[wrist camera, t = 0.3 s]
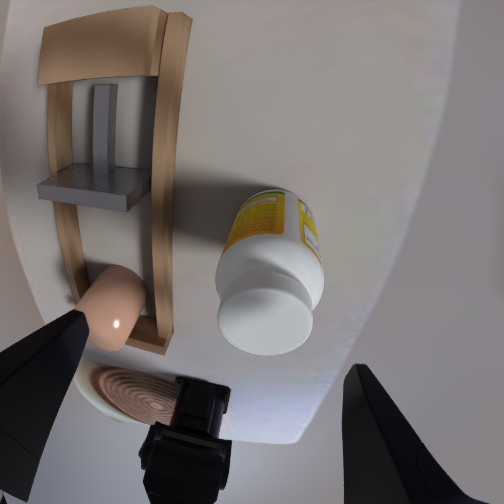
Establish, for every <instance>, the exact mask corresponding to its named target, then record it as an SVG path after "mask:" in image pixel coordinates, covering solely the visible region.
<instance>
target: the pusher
mask: <svg viewBox="0 0 504 504" xmlns="http://www.w3.org/2000/svg"><path fill="white" fill-rule="evenodd" d="M117 91H118V84H109V85H97V86H95V91H94V109H93V165H84V164H73V165H72V166H70V167H68V168H66V169H64V170H62V171H60V172H58V173H57V174H55V175H53V176H51V177H49V178H48V179H46V180H44V181H42V182H41V183H39V184H37V189H38V196H39V199H45V200H51V201H58V202H65V203H71V204H78V205H84V206H91V207H97V208H104V209H110V210H116V211H122V212H127V211H129V210H130V209H131V208H132V207H133V206H134V205H135V204H136V203H137V202H138V201H139V200H141V199H142V198H143V197H144V196H145V195H146V194H147V193H148V192H149V191H151V190H152V171H148V170H139V169H129V168H119V167H115V126H116V106H117Z"/></svg>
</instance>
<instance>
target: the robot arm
mask: <svg viewBox="0 0 504 504" xmlns="http://www.w3.org/2000/svg"><path fill="white" fill-rule="evenodd" d="M88 336H89V326H88V322H87V319H86V316H85V314H84V312H82V311H79V310H75V309H74V310H71V311H69V312H68V313H66V314H64V315H62V316H61V317H59V318H57V319H55V320H54V321H52V322H50V323H49V324H47V325H45V326H43V327H42V328H40V329H38V330H37V331H35V332H33V333H31V334H30V335H28V336H26V337H25V338H23V339H21V340H20V341H18V342H16V343H15V344H13V345H11V346H10V347H8V348H7V349H5V350H3V351H2V352H0V504H7V503H6V500H5V497H4V495H3V494H4V492H6V493H8V494H10V495H12V496H14V497H16V498H18V499H20V500H22V501H25V502H27V501H28V499H29V495H30V491H31V487H32V484H33V481H34V478H35V474H36V471H37V468H38V465H39V462H40V458H41V456H42V453H43V450H44V447H45V444H46V442H47V439H48V436H49V434H50V431H51V428H52V426H53V423H54V421H55V418H56V416H57V413H58V411H59V408H60V406H61V403H62V401H63V399H64V396H65V394H66V392H67V390H68V387H69V385H70V383H71V381H72V379H73V376H74V374H75V372H76V369H77V367H78V364H79V361H80V358H81V355H82V352H83V350H84V347H85V344H86V341H87V339H88ZM175 387H176V396H177V401H176V404H175V408H174V411H173V414H172V418H171V421H170V424H169V426H168V425H165V424H162V423H161V422H158V421H156V422H155V425H151V426H150V429H149V432H148V435H147V437H146V439H145V441H144V443H143V445H142V447H141V449H140V451H139V454H138V455H139V457H140V458H141V469H142V470H145V474H144V478H143V484H144V487H145V490H146V493H147V495H148V498H149V501H150V503H151V504H214V503H215V502H216V500H217V497H218V492H219V489H220V490H224V488H225V486H226V483H227V479H228V474H229V467H230V457H231V446H232V440H224V439H219V438H218V437H219V432H220V427H221V421H222V416H223V414H226V412H227V407H228V402H229V397H230V392H231V389H229V388H227V387H222V386H217V385H212V384H207V383H202V382H198V381H193V380H189V379H185V378H180V377H177V378H176V380H175ZM342 440H343V463H344V464H343V465H344V504H489V503H485V502H482V501H479V500H476V499H473V498H471V497H469V496H468V495H466V494H465V493H464V492H463V491H462V490H461V489H460V488H459V487H458V486H457V485H456V484H455V482H454V481H453V480H452V479H451V478H450V477H449V475H448V474H447V473H446V472H445V471H444V470H443V469H442V467H441V466H440V465H439V464H438V463H437V461H436V460H435V459H434V457H433V456H432V455H431V453H430V452H429V451H428V449H427V448H426V446H425V445H424V443H423V442H422V441H421V440H420V438H419V436H418V435H417V434H416V432H415V431H414V429H413V428H412V427H411V425H410V424H409V422H408V421H407V420H406V418H405V417H404V415H403V414H402V413H401V411H400V410H399V408H398V407H397V406H396V404H395V403H394V401H393V400H392V399H391V397H390V396H389V395H388V393H387V392H386V391H385V389H384V388H383V386H382V385H381V384H380V382H379V381H378V380H377V378H376V377H375V375H374V374H373V373H372V372H371V370H370V369H369V367H368V366H367V365H366V364H354V365H353V366H352V367H351V369H350V371H349V372H348V374H347V375H346V377H345V379H344V385H343V409H342ZM421 442H422V443H421Z"/></svg>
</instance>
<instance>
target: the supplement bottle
mask: <svg viewBox="0 0 504 504" xmlns="http://www.w3.org/2000/svg"><path fill="white" fill-rule="evenodd" d="M215 281H216V289H217V292H218V295H219V297H220V299H221V303H220V307H219V311H218V317H217V318H218V325H219V329H220V331H221V333H222V334H223V336H224V337H225V338H226V340H228V341H229V342H230V343H231V344H232V345H234V346H235V347H237V348H239V349H240V350H243V351H245V352H248V353H252V354H257V355H278V354H283V353H286V352H289V351H292V350H294V349H295V348H297V347H299V346H300V345H301V344H302V343H303V342H304V341H305V340H306V339H307V338H308V337H309V335H310V333H311V330H312V325H313V316H312V310H313V309H314V308H315V307H316V305H317V304H318V302H319V300H320V298H321V295H322V292H323V287H324V274H323V266H322V260H321V253H320V248H319V242H318V236H317V230H316V225H315V220H314V216H313V214H312V212H311V210H310V208H309V206H308V205H307V204H306V203H305V201H303V200H302V199H301V198H300V197H298V196H297V195H295V194H293V193H291V192H288V191H284V190H279V189H273V190H266V191H262V192H259V193H257V194H255V195H253V196H251V197H250V198H248V199H247V200H246V201H245V202H244V203H243V204H242V206H241V207H240V209H239V211H238V213H237V215H236V218H235V220H234V223H233V225H232V228H231V231H230V234H229V236H228V239H227V242H226V245H225V247H224V250H223V253H222V255H221V258H220V260H219V263H218V266H217V270H216V277H215Z"/></svg>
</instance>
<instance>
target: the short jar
mask: <svg viewBox="0 0 504 504" xmlns="http://www.w3.org/2000/svg"><path fill="white" fill-rule="evenodd" d="M147 301H148V290H147V287H146V285H145V283H144V282H143V280H142V279H141V278H140V277H139V276H138V275H137V274H136V273H135V272H133V271H132V270H130V269H128V268H126V267H123V266H119V265H111V266H108V267H106V268H105V269H104V270H103V271H102V272H101V274H100V275H99V276H98V278H97V279H96V280H95V281H94V283H93V284H92V285H91V286H90V288H89V289H88V290H87V292H86V293H85V294H84V296H83V297H82V298H81V299H80V301H79V302H78V303H77V305H76V306H75V308H74V309H75V310H79V311H82V312H84V314H85V316H86V319H87V322H88V326H89V336H88V339H87V341H88V342H89V343H91V344H92V345H94V346H96V347H98V348H100V349H102V350H106V351H111V352H115V351H119V350H121V349H122V348H123V346H124V345H125V343H126V341H127V339H128V337H129V335H130V333H131V331H132V329H133V327H134V325H135V323H136V322H137V320H138V318H139V316H140V314H141V312H142V310H143V309H144V307H145V305H146V303H147ZM74 309H73V310H74Z"/></svg>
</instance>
